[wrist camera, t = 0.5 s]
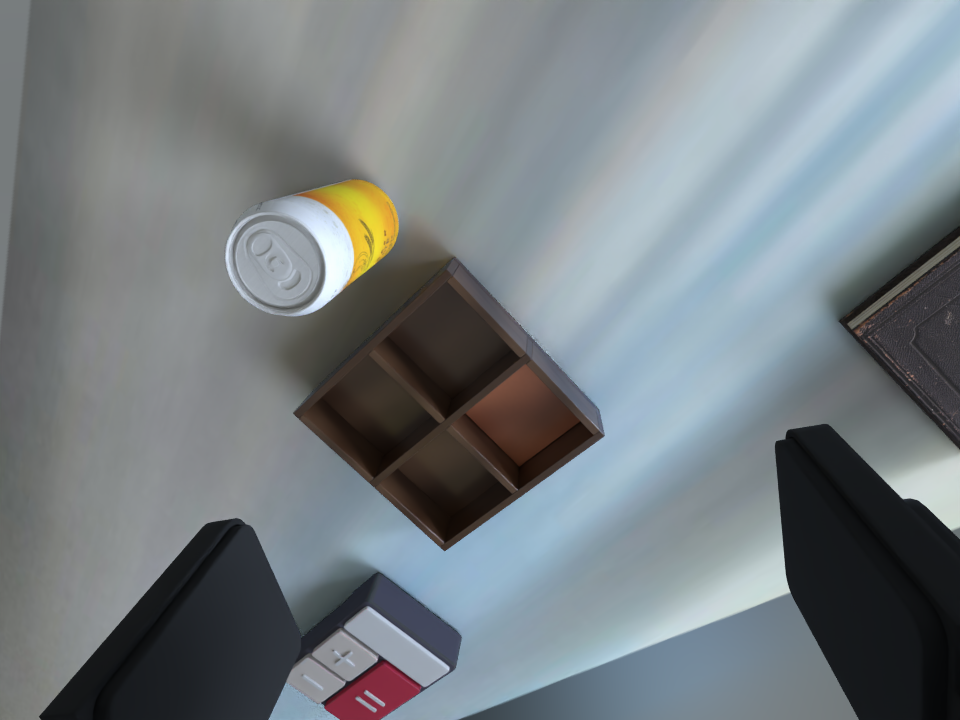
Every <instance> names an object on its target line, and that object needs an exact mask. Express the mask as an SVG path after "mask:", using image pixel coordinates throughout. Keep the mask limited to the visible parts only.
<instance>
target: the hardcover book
mask: <svg viewBox="0 0 960 720" xmlns="http://www.w3.org/2000/svg"><path fill="white" fill-rule="evenodd" d="M839 322H840V323H841V324H842V325H843V326H844V327H845V328H846V329H847V331H848V332H849V333H850V334H851V335H852V336H853V337H854V338H855V339H856V340H857V341H858V342H859V343H860V344H861V345H862V346H863V347H864V349H865V350H866V351H867V352H868V353H869V354H870V355H871V356H872V357H873V358H874V359H875V360H876V361H877V362H878V363H879V364H880V365H881V366H882V368H883V369H884V370H885V371H886V372H887V373H888V374H889V375H890V376H891V377H892V378H893V379H894V380H895V381H896V382H897V383H898V384H899V386H900V387H901V388H902V389H903V390H904V391H905V392H906V393H907V394H908V395H909V396H910V397H911V398H912V399H913V400H914V401H915V402H916V403H917V405H918V406H919V407H920V408H921V409H922V410H923V411H924V412H925V413H926V414H927V415H928V416H929V417H930V418H931V419H932V420H933V421H934V422H935V424H936V425H937V426H938V427H939V428H940V429H941V430H942V431H943V432H944V433H945V434H946V435H947V436H948V437H949V438H950V439H951V440H952V442H953V443H954V444H955V445H956V446H957V447H958V448H959V449H960V227H958V228H957V229H956V230H955V231H953V232H952V233H951V234H949V235H948V236H947V237H946V238H944V239H943V240H942V241H941V242H939V243H938V244H937V245H935V246H934V247H933V248H932V249H930V250H929V251H928V252H927V253H925V254H924V255H923V256H921V257H920V258H919V259H918V260H916V261H915V262H914V263H913V264H911V265H910V266H909V267H907V268H906V269H905V270H904V271H902V272H901V273H900V274H899V275H897V276H896V277H895V278H893V279H892V280H891V281H890V282H888V283H887V284H886V285H885V286H883V287H882V288H881V289H879V290H878V291H877V292H876V293H874V294H873V295H872V296H871V297H869V298H868V299H867V300H865V301H864V302H863V303H862V304H860V305H859V306H858V307H857V308H855V309H854V310H853V311H851V312H850V313H849V314H848V315H846V316H845V317H844V318H843V319H841V320H840V321H839Z"/></svg>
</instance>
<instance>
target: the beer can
mask: <svg viewBox="0 0 960 720" xmlns="http://www.w3.org/2000/svg"><path fill="white" fill-rule="evenodd" d="M398 228H399V224H398V216H397V212H396V209H395V207H394V205H393V203H392V201H391V200H390V198H389V197H388V196H387V195H386V194H385V192H383V191H382V190H381V189H380V188H379V187H377V186H375V185H374V184H372V183H369V182H367V181H363V180H358V179H351V180H345V181H341V182H337V183H333V184H329V185H325V186H322V187H318V188H314V189H310V190H307V191H303V192H299V193H295V194H292V195H288V196H284V197H280V198H276V199H273V200H269V201H265V202H262V203H259V204H256V205H254V206H252V207H250V208H249V209H248V210H246V211H245V212H244V213H243V214H242V215H241V216H240V217H239V218H238V220H237V221H236V223H235V224H234V226H233V228H232V231H231V233H230V235H229V237H228V239H227V243H226V247H225V264H226V269H227V272H228V275H229V278H230V280H231V282H232V284H233V286H234V287H235V289H236V290H237V291H238V293H239V294H240V295H241V296H242V297H243V298H244V299H245V300H246V301H247V302H249V303H250V304H251V305H253V306H254V307H256V308H258V309H260V310H262V311H264V312H267V313H270V314H275V315H284V316H302V315H307V314H310V313H313V312H315V311H317V310H318V309H320V308H322V307H323V306H324V305H325V304H327V303H328V302H329V301H330V300H332V299H333V298H334V297H335V296H336V295H338V294H339V293H340V292H341V291H343V290H344V289H345V288H346V287H347V286H349V285H350V284H351V283H352V282H354V281H355V280H356V279H357V278H359V277H360V276H361V275H362V274H363V273H365V272H366V271H367V270H368V269H370V268H371V267H372V266H373V265H374V264H376V263H377V262H378V261H379V260H381V259H382V258H383V257H384V256H385V255H387V254H388V253H389V251H390V250H391V249H392V247H393V246H394V244H395V241H396V239H397V235H398Z"/></svg>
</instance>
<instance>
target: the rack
mask: <svg viewBox="0 0 960 720" xmlns="http://www.w3.org/2000/svg"><path fill="white" fill-rule="evenodd" d="M293 414H294V415H295V416H296V417H297V418H299V420H300V421H302V422H303V423H304V424H305V425H306V426H307V427H308V428H309V429H310V430H311V431H313V432H314V433H315V434H316V435H317V436H318V437H319V438H320V439H321V440H322V441H324V442H325V443H326V444H327V445H328V446H329V447H330V448H331V449H332V450H333V451H335V452H336V453H337V454H338V455H339V456H340V457H341V458H342V459H343V460H345V461H346V462H347V463H348V464H349V465H350V466H351V467H352V468H353V469H354V470H356V471H357V472H358V473H359V474H360V475H361V476H362V477H363V478H364V479H365V480H367V481H368V482H369V483H370V484H371V485H372V486H373V487H375V489H376V490H378V491H379V492H380V493H381V494H382V495H383V496H384V497H385V498H386V499H388V500H389V501H390V502H391V503H392V504H393V505H394V506H395V507H396V508H397V509H399V510H400V511H401V512H402V513H403V514H404V515H405V516H406V517H407V518H408V519H410V520H411V521H412V522H413V523H414V524H415V525H416V526H417V527H418V528H419V529H421V530H422V531H423V532H424V533H425V534H426V535H427V536H428V537H429V538H430V539H432V540H433V541H434V542H435V543H436V544H437V545H438V546H439V547H440V548H441V549H443V550H444V551H446V550H447V549H449V548H450V547H451V546H453V545H454V544H456V543H457V542H458V541H460V540H461V539H462V538H464V537H465V536H467V535H468V534H469V533H471V532H472V531H474V530H475V529H476V528H478V527H479V526H481V525H482V524H483V523H485V522H486V521H487V520H489V519H490V518H492V517H493V516H494V515H496V514H497V513H499V512H500V511H501V510H503V509H504V508H506V507H507V506H508V505H510V504H511V503H512V502H514V501H515V500H517V499H518V498H519V497H521V496H522V495H524V494H525V493H526V492H528V491H529V490H530V489H532V488H533V487H535V486H536V485H537V484H539V483H540V482H542V481H543V480H544V479H546V478H547V477H549V476H550V475H551V474H553V473H554V472H555V471H557V470H558V469H560V468H561V467H562V466H564V465H565V464H567V463H568V462H569V461H571V460H572V459H573V458H575V457H576V456H578V455H579V454H580V453H582V452H583V451H585V450H586V449H587V448H589V447H590V446H592V445H593V444H594V443H596V442H597V441H598V440H600V439H601V438H603V437H604V436H605V435H604V430H603V425H602V420H601V415H600V411H599V409H598V408H597V407H596V406H595V405H594V404H593V403H592V402H591V401H590V399H589V398H588V397H587V396H586V395H585V394H584V393H583V392H582V391H581V390H580V389H579V388H578V387H577V386H576V385H575V384H574V382H573V381H572V380H571V379H570V378H569V377H568V376H567V375H566V374H565V373H564V372H563V371H562V370H561V369H560V368H559V366H558V365H557V364H556V363H555V362H554V361H553V360H552V359H551V358H550V357H549V356H548V355H547V354H546V353H545V352H544V351H543V349H542V348H541V347H540V346H539V345H538V344H537V343H536V342H535V341H534V340H533V339H532V338H531V337H530V336H529V335H528V334H527V332H526V331H525V330H524V329H523V328H522V327H521V326H520V325H519V324H518V323H517V322H516V321H515V320H514V319H513V318H512V317H511V315H510V314H509V313H508V312H507V311H506V310H505V309H504V308H503V307H502V306H501V305H500V304H499V303H498V302H497V301H496V300H495V298H494V297H493V296H492V295H491V294H490V293H489V292H488V291H487V290H486V289H485V288H484V287H483V286H482V285H481V284H480V282H479V281H478V280H477V279H476V278H475V277H474V276H473V275H472V274H471V273H470V272H469V271H468V270H467V269H466V268H465V267H464V265H463V264H462V263H461V262H460V261H459V260H458V259H457V258H456V257H454V258H453V259H452V260H451V261H450V262H449V263H447V264H446V265H445V266H444V267H443V268H442V269H441V270H440V271H439V272H438V273H437V274H436V275H435V276H434V277H433V278H432V279H430V280H429V281H428V282H427V283H426V284H425V285H424V286H423V287H422V288H421V289H420V290H419V291H418V292H417V293H416V294H415V295H414V296H412V297H411V298H410V299H409V300H408V301H407V302H406V303H405V304H404V305H403V306H402V307H401V308H400V309H399V310H398V311H397V312H395V313H394V314H393V315H392V316H391V317H390V318H389V319H388V320H387V321H386V322H385V323H384V324H383V325H382V326H381V327H380V328H379V329H377V330H376V331H375V332H374V333H373V334H372V335H371V336H370V337H369V338H368V339H367V340H366V341H365V342H364V343H363V344H362V345H360V346H359V347H358V348H357V349H356V350H355V351H354V352H353V353H352V354H351V355H350V356H349V357H348V358H347V359H346V360H345V361H344V362H342V363H341V364H340V365H339V366H338V367H337V368H336V369H335V370H334V371H333V372H332V373H331V374H330V375H329V376H328V377H327V378H325V379H324V380H323V381H322V382H321V383H320V384H319V385H318V386H317V387H316V388H315V389H314V390H313V391H312V392H311V393H310V394H309V395H308V397H307V398H306V399H305V400H304V401H303V402H302V403H301V405H300V406H299V407H298V408H297V409H296V410H295V412H294V413H293Z"/></svg>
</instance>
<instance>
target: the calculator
mask: <svg viewBox="0 0 960 720" xmlns="http://www.w3.org/2000/svg"><path fill="white" fill-rule="evenodd" d="M461 638H462V637H461V635H460V634H459V633H457V632H456V631H455V630H453V629H452V628H451V627H449V626H448V625H447V624H446V623H444V622H443V621H442V620H440V619H439V618H438V617H436V616H435V615H434V614H433V613H431V612H430V611H429V610H427V609H426V608H425V607H423V606H422V605H421V604H420V603H418V602H417V601H416V600H414V599H413V598H412V597H410V596H409V595H408V594H407V593H405V592H404V591H403V590H401V589H400V588H399V587H397V586H396V585H395V584H394V583H392V582H391V581H390V580H388V579H387V578H386V577H384V576H383V575H382V574H380V573H376V574H374V575H373V576H372V577H371V578H369V579H368V580H367V581H366V582H365V583H363V584H362V585H361V586H360V587H359V588H357V589H356V590H355V591H354V592H353V593H352V595H351V596H350V597H349V598H348V600H347V601H345V602H344V603H343V604H342V605H341V606H339V607H338V608H337V609H336V610H335V611H333V612H332V613H331V614H330V615H329V616H327V617H326V618H325V619H324V620H323V621H321V622H320V623H319V624H318V625H317V626H315V627H314V628H313V629H312V630H311V631H309V632H308V633H307V634H306V635H305V636H303V637H302V638H301V648H300V652H299V655H298V657H297V659H296V662H295V664H294V666H293V668H292V670H291V672H290V674H289V677H288V679H287V681H286V682H287V683H288V684H290V685H291V686H293V687H294V688H295V689H297V690H298V691H300V692H301V693H303V694H304V695H305V696H307V697H308V698H310V699H311V700H313V701H314V702H316V703H317V704H320V703H321V704H323V705H324V706H325V707H324V708H325V709H326V710H327V711H328V712H330V713H331V714H333V715H334V716H336V717H337V718H338V719H340V720H381V719H382V718H384V717H385V716H387V715H388V714H389V713H391V712H392V711H394V710H395V709H397V708H398V707H400V706H401V705H403V704H404V703H406V702H407V701H409V700H410V699H412V698H413V697H415V696H416V695H418V694H419V693H421V692H422V691H424V690H425V689H427V688H428V687H430V686H431V685H433V684H434V683H436V682H437V681H439V680H440V679H441V678H443V677H444V676H446V675H447V674H449V673H450V672H452V671H453V670H455V668H456V665H457V660H458V654H459V649H460V644H461Z"/></svg>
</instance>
